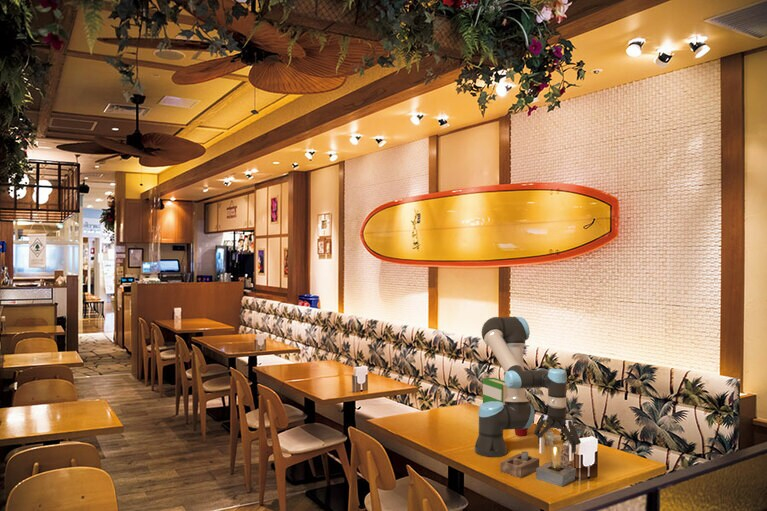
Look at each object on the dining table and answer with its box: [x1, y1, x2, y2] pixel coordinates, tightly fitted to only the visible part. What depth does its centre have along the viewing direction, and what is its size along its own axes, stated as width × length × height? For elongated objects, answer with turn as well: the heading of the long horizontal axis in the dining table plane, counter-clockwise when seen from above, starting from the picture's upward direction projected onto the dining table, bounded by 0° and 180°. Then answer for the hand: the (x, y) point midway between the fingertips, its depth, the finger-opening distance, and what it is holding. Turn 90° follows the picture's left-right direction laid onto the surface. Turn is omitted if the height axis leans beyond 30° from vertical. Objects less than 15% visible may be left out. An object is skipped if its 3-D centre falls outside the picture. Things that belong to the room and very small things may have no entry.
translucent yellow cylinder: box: [550, 444, 562, 472], centre depth 252 cm, size 4×4×14 cm
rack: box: [499, 450, 540, 479], centre depth 261 cm, size 10×16×7 cm, turn 137°
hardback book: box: [482, 377, 507, 405], centre depth 336 cm, size 18×7×24 cm, turn 25°
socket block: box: [535, 461, 577, 487], centre depth 252 cm, size 12×12×4 cm
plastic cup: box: [514, 428, 529, 438], centre depth 314 cm, size 11×11×12 cm
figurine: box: [561, 440, 573, 468], centre depth 266 cm, size 7×7×12 cm
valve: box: [544, 429, 568, 446], centre depth 301 cm, size 7×7×12 cm
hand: (556, 456), depth 252 cm, fingers open, 13 cm apart
